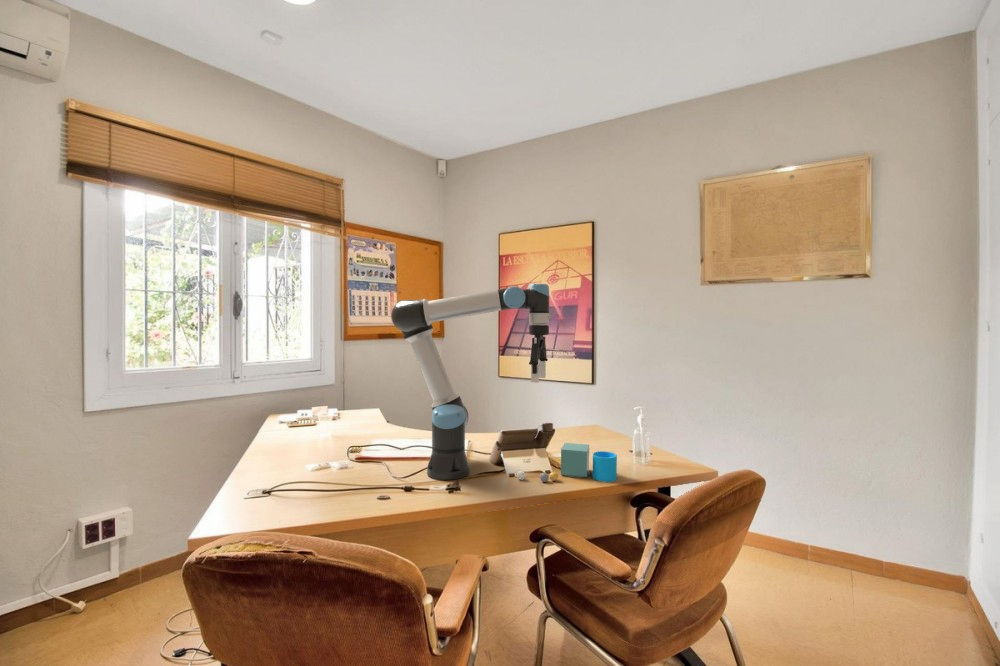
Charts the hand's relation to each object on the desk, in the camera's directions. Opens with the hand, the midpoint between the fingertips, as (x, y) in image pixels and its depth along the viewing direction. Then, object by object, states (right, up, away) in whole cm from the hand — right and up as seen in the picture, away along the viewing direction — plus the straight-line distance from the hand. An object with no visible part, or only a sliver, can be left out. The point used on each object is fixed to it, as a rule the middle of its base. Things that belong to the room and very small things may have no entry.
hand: (538, 380), depth 179 cm
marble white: (-8, -32, -19) cm, 38 cm away
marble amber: (+4, -32, -18) cm, 37 cm away
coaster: (+12, -32, -11) cm, 36 cm away
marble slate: (0, -32, -19) cm, 37 cm away
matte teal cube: (+12, -32, -11) cm, 36 cm away
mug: (+22, -33, -14) cm, 42 cm away
